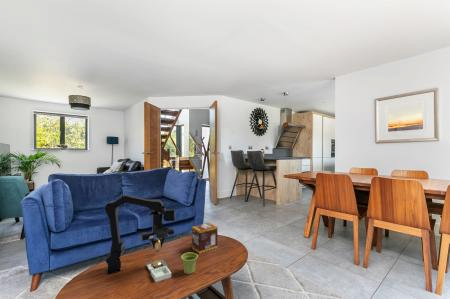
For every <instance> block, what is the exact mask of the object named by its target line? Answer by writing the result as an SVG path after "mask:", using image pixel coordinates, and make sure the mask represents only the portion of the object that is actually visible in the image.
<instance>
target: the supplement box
mask: <svg viewBox="0 0 450 299" xmlns="http://www.w3.org/2000/svg"><path fill="white" fill-rule="evenodd" d="M214 248H215V249H217V248H218V226H217V225H215V224H213V223H211V222H207V223H202V224H197V225H194V226H192V227H191V249H192V250H193V251H195V252H197V254H202V252H203V253H205V251H206V252H209V251H212V250H215V249H214ZM211 249H212V250H211ZM208 250H209V251H208Z"/></svg>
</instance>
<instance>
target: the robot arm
mask: <svg viewBox="0 0 450 299" xmlns="http://www.w3.org/2000/svg"><path fill="white" fill-rule="evenodd" d="M163 202H164V201H162V200H161V199H156V198H155V199H153V198H152V199H148V198H142V197H140V196H139V197H138V196H133V195H129V194H124V195H123V196H122V197H120V198H118V199H115V200H114V199H112V200H111V201H109V202H108V203H107V204H106V205H105V206H104V210H105V213H106V216H107V217H108V220H109V228H110V239H111V244H110V246H111V247H110V251H109V252H110V253H109V255H108V256H107V257H106V259H105V262H106V273H107V275H110V274H111V275H112V274H116V273H119V272H121V269H122V261H121V256H122V255H123V253H124V251H125V249H126V245H125V241H122V240H121V234H120V225H119V211H120V207H121V206H122V205H124V204H125V203H127V204H132V205H135V206H139V207H145V208H147V209H148V210H151V211H150V212H149V213H148V215H149V216H152V222H151V226H152V229H151V232H148V231H143V232H140V234H139V238H140V239H141V241H149V242H150V245H151V246H152V249H153V250H154V239H155V238H154V237H155V236H156V239H157V238H158V239H161V248H162V246H164V245H163V244H164V241H165V239H166V238H168V237H169V236H171V235H174V234H175V230H174V228H172V226H169V227H164V223H163V220H164V221H165V222H175V221H176V212H175V211H176V209H173V208H172V209H167V208H166V207H165V205H164V203H163ZM168 235H169V236H168Z"/></svg>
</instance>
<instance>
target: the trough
mask: <svg viewBox="0 0 450 299" xmlns="http://www.w3.org/2000/svg"><path fill="white" fill-rule="evenodd" d="M150 276H151V277H152V279H153V280H154V282H155V283H157V282H160V281H163V280H167V279H170V278H172V272H171V270H170V269H169V267H168V268H167V266H164V267H161V266H160V268H157V269H154V270H151V273H150Z"/></svg>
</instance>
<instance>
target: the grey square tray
mask: <svg viewBox="0 0 450 299" xmlns="http://www.w3.org/2000/svg"><path fill="white" fill-rule="evenodd" d="M159 260H160V261H162V265H161V266H160V267H164V266H167V268H168V269H169V265H168V264H167V262H166V261H165V260H164V259H159ZM153 262H154V261H151V262H148V263H147V262H146V264H145V266H146V268H147V269H148V272H149V273H150V274H151V270H154V269H157V268H154V267H153V266H152V263H153ZM160 267H158V268H160Z"/></svg>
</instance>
